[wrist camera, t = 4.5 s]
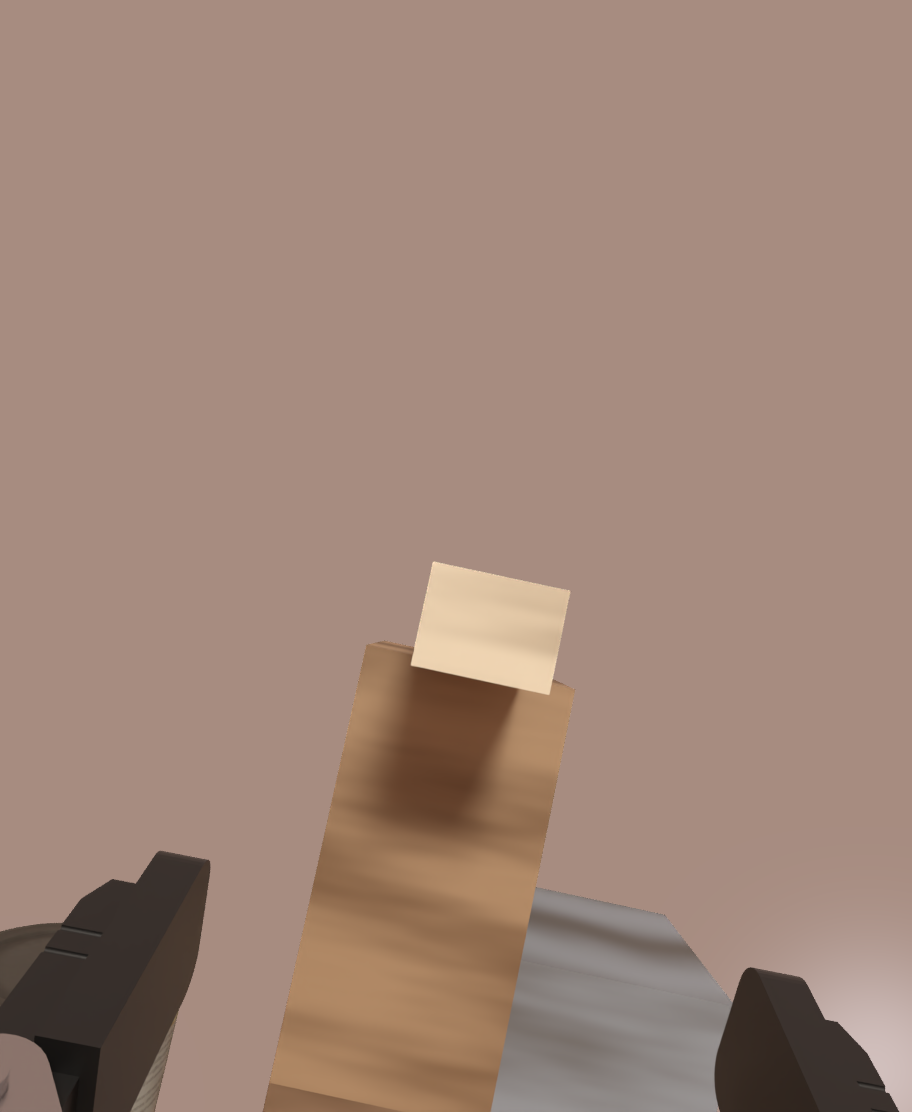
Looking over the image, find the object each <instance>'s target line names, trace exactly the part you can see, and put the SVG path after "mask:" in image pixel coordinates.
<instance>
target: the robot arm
mask: <svg viewBox="0 0 912 1112" xmlns="http://www.w3.org/2000/svg"><path fill="white" fill-rule="evenodd" d="M209 876H210V861H209V860H205V859H200V858H195V857H190V856H184V855H180V854H175V853H169V852H164V851H159V852H158V853H156V855H155V856H154V858H153V859H152V861H151V862H150V864H149V865H148V866H147V868H146V870H145V871H144V873H143V874H142V875H141V877H140V879H139V880H138V882H137V883H136V884H134V883H129V882H124V881H119V880H114V879H112V880H110V881H109V882H107V883H105V884H104V885H102V886H101V887H99V888H97V889H96V890H94V891H93V892H91V893H90V894H88V895H86V896H85V897H83V898H82V899H81V900H80V901H79V902H78V904H77V905H76V906H75V908H74V909H73V910H72V912H71V913H70V914H69V916H68V917H67V919H66V920H65V921H64V922H63V924H62V926H61V929H60V930H57V932H56V933H55V934H54V936H53V937H52V938H51V940H50V941H49V942H48V944H47V945H46V946H45V950H44V952H41V953H40V954H39V956H38V957H37V958H36V960H35V961H34V962H33V964H32V965H31V966H30V968H29V969H28V970H27V972H26V973H25V974H24V976H23V977H22V978H21V980H20V981H19V982H18V984H17V985H16V986H15V988H14V989H13V990H12V992H11V993H10V994H9V995H8V997H7V998H6V999H5V1001H4V1002H3V1003H2V1005H1V1006H0V1112H130V1111H131V1109H132V1107H133V1105H134V1103H135V1101H136V1099H137V1097H138V1095H139V1092H140V1090H141V1088H142V1086H143V1084H144V1082H145V1080H146V1078H147V1076H148V1073H149V1071H150V1069H151V1067H152V1065H153V1063H154V1061H155V1059H156V1057H157V1054H158V1052H159V1050H160V1048H161V1046H162V1044H163V1042H164V1040H165V1038H166V1035H167V1033H168V1031H169V1029H170V1027H171V1025H172V1023H173V1021H174V1019H175V1016H176V1014H177V1012H178V1010H179V1008H180V1006H181V1004H182V1002H183V1000H184V997H185V995H186V992H187V990H188V987H189V984H190V981H191V978H192V975H193V972H194V968H195V964H196V960H197V956H198V950H199V944H200V937H201V931H202V924H203V917H204V910H205V903H206V896H207V890H208V883H209ZM714 1082H715V1093H716V1099H717V1103H718V1106H719V1110H720V1112H899V1111H898V1109H897V1107H896V1105H895V1103H894V1101H893V1100H892V1098H891V1096H890V1094H889V1093H886V1092H885V1085H884V1084H883V1081H882V1080H881V1078H880V1076H879V1074H878V1072H877V1070H876V1069H875V1067H874V1066H873V1063H872V1061H871V1060H870V1058H869V1056H868V1054H867V1053H866V1052H865V1051H864V1050H863V1049H862V1047H861V1046H860V1045H858V1043H857V1042H856V1041H855V1040H854V1039H853V1038H852V1037H851V1036H850V1035H849V1034H848V1033H847V1032H846V1031H845V1030H844V1029H843V1027H842V1026H841V1025H840V1024H838V1022H834V1021H829V1020H825V1019H824V1017H823V1015H822V1013H821V1011H820V1009H819V1007H818V1005H817V1003H816V1001H815V999H814V997H813V995H812V993H811V991H810V989H809V987H808V985H807V984H806V982H805V981H804V980H803V979H802V978H800V977H797V976H792V975H787V974H781V973H776V972H771V971H766V970H761V969H756V968H747V969H746V970H745V971H744V973H743V974H742V977H741V979H740V982H739V985H738V988H737V991H736V994H735V998H734V1001H733V1004H732V1007H731V1010H730V1013H729V1016H728V1019H727V1023H726V1026H725V1029H724V1032H723V1035H722V1038H721V1041H720V1045H719V1048H718V1051H717V1055H716V1061H715V1072H714Z"/></svg>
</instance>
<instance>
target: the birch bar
mask: <svg viewBox="0 0 912 1112" xmlns="http://www.w3.org/2000/svg"><path fill="white" fill-rule="evenodd" d="M569 596H570V591H568V590H563V589H559V588H554V587H549V586H544V585H540V584H535V583H530V582H526V581H521V580H516V579H512V578H507V577H503V576H498V575H493V574H489V573H484V572H479V571H475V570H470V569H465V568H461V567H456V566H451V565H447V564H442V563H437V562H433V565H432V569H431V574H430V578H429V583H428V588H427V592H426V597H425V602H424V606H423V611H422V615H421V620H420V624H419V629H418V633H417V638H416V643H415V647H414V652H413V656H412V661H411V665H412V666H416V667H421V668H426V669H430V670H435V671H440V672H444V673H449V674H454V675H458V676H463V677H467V678H472V679H477V680H481V681H486V682H491V683H495V684H500V685H505V686H509V687H514V688H519V689H523V690H528V691H533V692H537V693H542V694H547V695H549V694H550V690H551V685H552V680H553V675H554V670H555V665H556V660H557V655H558V650H559V645H560V640H561V635H562V630H563V625H564V620H565V615H566V610H567V606H568V601H569Z"/></svg>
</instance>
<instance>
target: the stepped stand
mask: <svg viewBox="0 0 912 1112" xmlns="http://www.w3.org/2000/svg"><path fill="white" fill-rule="evenodd" d="M413 652H414V647H411V646H406V645H401V644H397V643H392V642H387V641H382V642H378V643H373V644H368V645H366V650H365V654H364V658H363V663H362V667H361V672H360V677H359V681H358V686H357V690H356V694H355V699H354V704H353V708H352V713H351V717H350V721H349V726H348V731H347V736H346V740H345V744H344V749H343V753H342V757H341V762H340V767H339V772H338V775H337V780H336V785H335V789H334V793H333V798H332V803H331V807H330V812H329V817H328V820H327V825H326V829H325V834H324V838H323V843H322V848H321V852H320V857H319V861H318V866H317V870H316V875H315V879H314V884H313V889H312V893H311V897H310V902H309V907H308V911H307V915H306V920H305V924H304V929H303V933H302V938H301V942H300V947H299V951H298V956H297V960H296V965H295V969H294V974H293V978H292V983H291V988H290V992H289V996H288V1001H287V1005H286V1010H285V1014H284V1019H283V1023H282V1028H281V1032H280V1037H279V1041H278V1046H277V1050H276V1055H275V1059H274V1064H273V1068H272V1073H271V1077H270V1082H269V1086H268V1091H267V1095H266V1100H265V1104H264V1109H263V1112H717V1107H718V1103H717V1099H716V1093H715V1082H714V1072H715V1061H716V1055H717V1051H718V1048H719V1045H720V1041H721V1038H722V1035H723V1032H724V1029H725V1026H726V1023H727V1019H728V1016H729V1013H730V1010H731V1007H732V1004H733V1003H732V1002H731V1000H730V999H729V998H728V996H727V995H726V994H725V992H724V991H723V990H722V988H721V987H720V986H719V985H718V983H717V982H716V981H715V979H714V978H713V977H712V976H711V974H710V973H709V972H708V971H707V969H706V968H705V967H704V965H703V964H702V963H701V961H700V960H699V959H698V957H697V956H696V955H695V954H694V952H693V951H692V950H691V948H690V947H689V946H688V944H687V943H686V942H685V941H684V939H683V938H682V937H681V935H680V934H679V933H678V932H677V930H676V929H675V928H674V926H673V925H672V924H671V923H670V921H669V920H668V919H667V917H666V916H665V915H663V914H658V913H653V912H648V911H644V910H639V909H635V908H630V907H626V906H621V905H616V904H611V903H607V902H602V901H597V900H593V899H588V898H584V897H579V896H575V895H569V894H565V893H561V892H556V891H551V890H546V889H542V888H537V887H536V883H537V878H538V872H539V868H540V863H541V858H542V853H543V848H544V842H545V838H546V832H547V828H548V822H549V817H550V813H551V807H552V803H553V797H554V793H555V787H556V783H557V778H558V772H559V767H560V762H561V757H562V753H563V747H564V743H565V737H566V732H567V727H568V722H569V717H570V712H571V707H572V702H573V697H574V692H575V689H572V688H570V687H568V686H566V685H564V684H562V683H560V682H557V681H555V680H552V685H551V690H550V694H549V695H547V694H542V693H537V692H533V691H528V690H523V689H519V688H514V687H509V686H505V685H500V684H495V683H491V682H486V681H481V680H477V679H472V678H467V677H463V676H458V675H454V674H449V673H444V672H440V671H435V670H430V669H426V668H421V667H416V666H412V665H411V661H412V656H413Z"/></svg>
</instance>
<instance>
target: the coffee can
mask: <svg viewBox="0 0 912 1112" xmlns="http://www.w3.org/2000/svg"><path fill="white" fill-rule="evenodd" d="M62 924H63V923H47V924H37V925H30V926H23V927H18V928H14V929H9V930H5V931H1V932H0V1006H1V1005H2V1003H3V1002H4V1001H5V999H6V998H7V997H8V995H9V994H10V993H11V992H12V990H13V989H14V988H15V986H16V985H17V984H18V982H19V981H20V980H21V978H22V977H23V976H24V974H25V973H26V972H27V970H28V969H29V968H30V966H31V965H32V964H33V962H34V961H35V960H36V958H37V957H38V956H39V954H40V953H41V952H44V950H45V946H46V945H47V944H48V942H49V941H50V940H51V938H52V937H53V936H54V934H55V933H56V932H57V930H60V929H61V926H62ZM178 1011H179V1010H178ZM177 1015H178V1012H177V1014H176V1016H175V1019H174V1021H173V1023H172V1025H171V1027H170V1029H169V1031H168V1033H167V1035H166V1038H165V1040H164V1042H163V1044H162V1046H161V1048H160V1050H159V1052H158V1054H157V1057H156V1059H155V1061H154V1063H153V1065H152V1067H151V1069H150V1071H149V1073H148V1076H147V1078H146V1080H145V1082H144V1084H143V1086H142V1088H141V1090H140V1092H139V1095H138V1097H137V1099H136V1101H135V1103H134V1105H133V1107H132V1109H131V1111H130V1112H155V1107H156V1103H157V1099H158V1095H159V1091H160V1087H161V1082H162V1078H163V1074H164V1070H165V1066H166V1062H167V1058H168V1053H169V1049H170V1044H171V1040H172V1036H173V1032H174V1027H175V1023H176V1019H177Z"/></svg>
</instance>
